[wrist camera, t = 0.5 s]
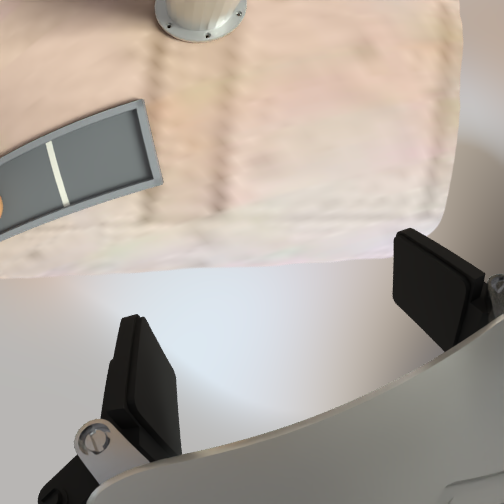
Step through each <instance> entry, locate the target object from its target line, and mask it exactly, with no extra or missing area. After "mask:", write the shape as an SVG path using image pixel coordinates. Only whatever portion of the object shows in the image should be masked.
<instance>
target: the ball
mask: <svg viewBox="0 0 504 504" xmlns="http://www.w3.org/2000/svg"><path fill="white" fill-rule="evenodd" d="M2 212H3V202H2V198H1V196H0V218H1V215H2Z"/></svg>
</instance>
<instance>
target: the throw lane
mask: <svg viewBox="0 0 504 504" xmlns="http://www.w3.org/2000/svg"><path fill="white" fill-rule="evenodd" d="M163 182H164V181H163V178H162V174H161V170H160V166H159V162H158V158H157V154H156V150H155V146H154V142H153V138H152V133H151V129H150V125H149V121H148V116H147V112H146V107H145V102H144V100H143V99H140V100H137V101H134V102H130V103H127V104H124V105H121V106H118V107H115V108H112V109H109V110H106V111H104V112H101V113H98V114H95V115H93V116H90V117H87V118H85V119H82V120H80V121H77V122H75V123H72V124H70V125H67V126H65V127H63V128H60V129H58V130H56V131H54V132H51V133H49V134H47V135H45V136H43V137H40V138H38V139H36V140H34V141H32V142H30V143H28V144H26V145H24V146H22V147H20V148H18V149H16V150H14V151H13V152H11V153H9V154H7V155H5V156H3V157H2V158H0V196H1V198H2V202H3V212H2V215H1V218H0V242H1V241H3V240H5V239H8V238H10V237H12V236H15V235H17V234H19V233H22V232H24V231H27V230H29V229H32V228H34V227H37V226H39V225H42V224H44V223H47V222H50V221H52V220H55V219H58V218H60V217H63V216H66V215H68V214H71V213H74V212H77V211H80V210H83V209H85V208H88V207H91V206H94V205H97V204H100V203H103V202H106V201H109V200H112V199H115V198H119V197H122V196H125V195H128V194H131V193H135V192H138V191H141V190H145V189H148V188H152V187H155V186H159V185H162V184H163Z"/></svg>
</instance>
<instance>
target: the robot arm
mask: <svg viewBox="0 0 504 504" xmlns="http://www.w3.org/2000/svg"><path fill="white" fill-rule="evenodd" d="M246 9H247V0H156V1H155V15H156V18H157V21H158V23H159V25H160V26H161V27H162V28H163V30H164V31H166V32H167V33H168V34H169V35H171V36H173V37H175V38H176V39H179V40H182V41H186V42H192V43H203V42H211V41H214V40H217V39H220V38H222V37H224V36H226V35H228V34H229V33H231V32H232V31H233V30H234V29H235V28H236V27H237V26H238V25H239V24H240V22H241V21H242V19H243V17H244V16H245V13H246ZM237 14H238V15H240V16H237ZM168 26H171V28H167V27H168ZM205 36H209V38H206V37H205ZM484 277H485V273H483V272H482V271H481V270H479V269H478V268H476V267H475V266H473V265H472V264H470V263H469V262H467V261H465V260H464V259H462V258H460V257H459V256H458V255H456V254H454V253H453V252H451V251H450V250H448V249H446V248H445V247H443V246H441V245H440V244H438V243H436V242H435V241H433V240H431V239H430V238H428V237H426V236H425V235H423V234H421V233H419V232H418V231H416V230H414V229H412V228H408V229H405V230H402V231H399V232H398V233H397V234H396V237H395V238H394V266H393V299H394V301H395V303H396V304H397V305H398V306H399V307H400V308H401V309H402V310H403V311H404V312H405V313H406V314H408V316H409V317H410V318H412V319H413V320H414V321H415V322H416V323H417V324H418V325H419V326H420V327H421V328H422V329H423V330H424V331H425V332H426V333H427V334H428V335H429V336H430V337H431V338H432V339H433V340H434V341H435V342H436V343H437V344H438V345H439V346H440V347H441V348H442V349H443V351H444V353H443V354H441V355H439V356H438V357H436V358H434V359H433V360H431V361H429V362H428V363H426V364H424V365H422V366H421V367H419V368H417V369H415V370H413V371H412V372H410V373H408V374H406V375H404V376H402V377H400V378H399V379H397V380H395V381H393V382H391V383H389V384H387V385H385V386H383V387H381V388H379V389H377V390H375V391H372V392H370V393H368V394H366V395H364V396H362V397H359V398H357V399H355V400H353V401H351V402H348V403H346V404H344V405H341V406H339V407H336V408H334V409H332V410H329V411H327V412H324V413H322V414H319V415H316V416H314V417H311V418H309V419H306V420H303V421H301V422H298V423H295V424H292V425H289V426H286V427H283V428H280V429H277V430H274V431H271V432H268V433H264V434H261V435H258V436H255V437H251V438H248V439H244V440H240V441H237V442H233V443H230V444H225V445H222V446H218V447H214V448H210V449H205V450H201V451H197V452H192V453H187V454H183V455H182V450H181V439H180V428H179V417H178V403H177V388H176V376H175V373H174V370H173V368H172V366H171V365H170V363H169V361H168V359H167V358H166V356H165V354H164V352H163V350H162V349H161V347H160V345H159V343H158V341H157V339H156V337H155V336H154V334H153V332H152V330H151V328H150V326H149V324H148V322H147V320H146V319H145V317H140V316H139V315H138V314H135V315H132V316H128V317H124V318H122V319H121V323H120V327H119V332H118V337H117V342H116V347H115V352H114V357H113V359H112V360H111V361H110V364H109V369H108V374H107V380H106V386H105V392H104V398H103V405H102V412H101V419H95V420H92V421H89V422H87V423H86V424H84V425H83V426H82V427H81V428H80V429H79V431H78V432H77V434H76V436H75V440H74V448H75V450H76V453H77V455H76V456H75V457H74V458H73V459H72V460H71V461H70V462H69V463H68V464H67V465H66V466H65V467H64V468H63V469H62V470H60V471H59V473H57V474H56V475H55V476H54V477H53V478H52V479H51V480H50V481H49V482H48V483H47V484H46V485H45V486H44V487H43V488H42V489H41V491H40V493H39V496H38V504H504V274H496V275H493V276H491V277H490V278H489V280H488V281H487V283H485V282H484Z"/></svg>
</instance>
